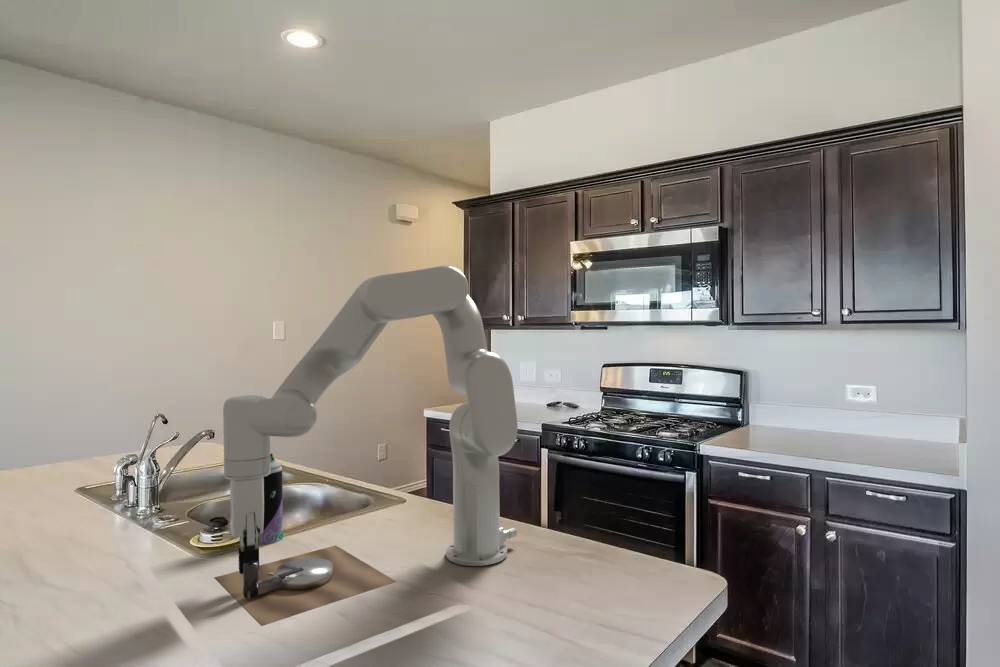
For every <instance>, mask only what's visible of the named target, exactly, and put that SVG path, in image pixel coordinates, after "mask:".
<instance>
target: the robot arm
mask: <svg viewBox="0 0 1000 667" xmlns="http://www.w3.org/2000/svg"><path fill="white" fill-rule="evenodd" d="M469 289H470V288H469V283H468V279H467V277H466V276H465V274H464V273H463V272H462V271H461V270H460V269H458V268H456V267H454V266H451V265H439V266H434V267H428V268H421V269H416V270H409V271H404V272H395V273H387V274H385V273H384V274H380V275H377V276H372V277H370V278H367V279H366V280H364V281H362V282H361V283H360V285H359V286H358V287H357V288H356V289H355V290H354V292H353V293H352V295H351V296H350V297H349V298H348V300H347V301H346V302H345V304H344V305H343V306H342V308H341V309H340V311H338V313H337V314H336V316H335V317H334V319H332V321H331V322H330V323H329V325H328V327H326V329H325V330H324V331H323V332H322V333H321V335H320V337H318V339H317V340H316V341H315V342H314V343H313V344H312V345H311V347H310V349H309V350H308V352H306V353H305V355H304V356H303V357H302V358H301V359H300V361H299V362H298V363H297V364H296V365H295V367H294V368H293V369H292V370H291V371H290V373H289V374H288V376H287V377H286V378H285V379H284V381H283V382H282V383H281V385H280V386H279V387H278V389H277V390H276V392H275V393H274V394H273V395H272V397H271V398H267V397H266V396H263V395H251V394H250V395H249V394H248V395H239V396H231V397H229V398H227V399H226V400H225V401H224V403H223V405H222V406H223V409H222V410H223V411H222V412H223V414H222V415H223V416H222V419H223V420H222V421H223V424H222V426H223V473H224V474H223V476H224V479H225V480H228V481H230V482H229V483H230V484H229V526H230V534H231V537H232V538H233V539H234V540H237V538H239V548H238V571H239V572H240V574H243V564H244V563H245V562H247V561H253V560H255V561H258V564H259V565H260V547H259V543H258V533H259V535H261V534H262V533H263V526H264V477H265V476H268V475H269V474H270V473H271V466H270V454H271V437H281V438H283V437H284V438H297V437H302V436H304V435H306V434H308V433H309V432H310V431H311V430H313V428H314V426H315V425H316V423H317V420H318V412H317V409H316V407H315V406H316V404H317V403H318V401H319V400H320V399H321V398H322V396H323V395H324V393H325V392H326V391H327V389H328V388H329V387H330V386H331V385H332V384H333V383H334V382H335V381H336V380H337V379H338V378H340V377H341V376H343V375H344V374H346V373H349V371H351V370H353V369H354V368H355V367H356V366H357V365H358V364H359V363H360V362H361V361H362V360H363V358H364V357H365V355H366V354H367V352H368V351H369V350H370V348H372V345H373V344H374V342H375V341H376V339H377V338H378V337H379V336H380V334H381V333H382V332H383V330H384V329H385V327H387V325H388V324H389V322H392V321H399V320H402V321H403V320H406V319H414V318H418V317H419V318H420V317H424V316H429V315H432V316H433V317H434V318H435V320H436V321H437V323H438V325H439V327H440V331H441V335H442V340H443V346H444V353H445V361H446V372H447V377H448V378H447V380H448V383H449V385H450V387H451V388H452V390H453V391H454V392H456V393H457V394H459V395H461V396H464V397H467V401H466V402H463V403H461V404H460V405H459V406H457V407H456V409H454V411H453V413H452V414H451V417H450V419H449V425H448V426H449V427H448V430H449V432H448V433H449V434H448V435H449V441H450V448H451V455H452V474H453V475H452V476H453V477H452V478H453V479H452V491H453V492H452V496H453V498H452V499H453V500H452V502H453V503H452V505H453V506H452V507H453V508H452V510H453V516H452V517H453V519H452V520H453V522H452V523H453V543H451V544H450V545H448V547H447V548H446V550H445V555H446V558H447V559H448V560H449V561H450V562H452V563H453V564H456V565H460V566H466V567H484V566H489V565H494V564H497V563H499V562H502V561H503V560H505V559H506V558H507V556H508V548H507V546H506V545H505V543H506V541H507V540H509V539H513V538H515V537H517V535H518V532H517V529H516V528H515V527H511V528H508V529H506V530H504V528H503V527H500V525H501V524H500V522H501V521H500V519H501V518H500V509H501V508H500V463H499V457H500V456H504V455H505V454H508V452H509V451H510V450H511V449H512V448H513V446H514V445H515V443H516V440H517V437H518V430H519V428H518V416H517V407H516V399H515V390H514V383H513V377H512V374H511V370H510V368H509V366H508V364H507V362H506V361H505V360H504V359H503V358H502V356H500V355H499V354H497V353H495V352H492V351H488V345H487V339H486V334H485V330H484V329H485V328H484V323H483V318H482V316H481V313H480V310H479V308H478V306H477V305H476V303H475V301H474V300H473V299H472V298H471V297H470V295H469Z"/></svg>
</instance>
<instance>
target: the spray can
mask: <svg viewBox="0 0 1000 667" xmlns="http://www.w3.org/2000/svg"><path fill="white" fill-rule="evenodd" d="M282 465H283V464H282V463H281V462H279V461H276V459H275V457H274V455H273V453H270V466H271V473H270V474H269V475H268V476H265V477H264V526H263V533H262V534H261V535H259V533H258V545H271V544H275V543H276V544H277V543H278V542H281V541H283V539H284V516H283V515H284V511H283V510H284V509H283V504H284V502H283V501H284V500H283V467H282Z"/></svg>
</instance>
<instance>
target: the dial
mask: <svg viewBox="0 0 1000 667" xmlns="http://www.w3.org/2000/svg"><path fill="white" fill-rule="evenodd" d="M259 566H260V563H259V564H258V561H255V560H253V561H247V562H245V563H244V564H243V584H244V588H243V596H244V597H245V598H248V599H249V598H253V597H256V596H258V595H260V594H263V593H266V592H268V591H271V590H274V589H277V588H283V589H289V590H301V589H308V588H313V587H316V586H319V585H322V584H324V583H326V582H328V581H329V580H330V579H331V578H332V576H333V564H332V563H331V562H330V561H329V560H326V559H321V558H304V559H298V560H293V561H290V562H287V563H285V564H283V565H281V566H279V567H278V568H277V569H276V570H275V577H274V578H271V579H268V580H265V581H262V582H259Z"/></svg>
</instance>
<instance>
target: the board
mask: <svg viewBox="0 0 1000 667" xmlns="http://www.w3.org/2000/svg"><path fill="white" fill-rule="evenodd" d="M304 558H321V559H326V560H329V561H330V562H331V563H332V564H333V576H332V578H331V579H330V580H329V581H328V582H326V583H324V584H322V585H319V586H316V587H313V588H308V589H301V590H289V589H283V588H277V589H274V590H271V591H268V592H266V593H263V594H260V595H258V596H256V597H253V598H249V599H248V598H245V597H244V596H243V588H244V584H243V574H240V572H239V570H237V571H234V572H230V573H226V574H222V575H218V576H214V579H215V580H216V581H217V582H218V583H219V584H220V585H221V586H222V587H223V588H224V589H225V591H227V592H228V593H229V595H231V597H233V599H234V600H236V601H237V603H239V605H240V606H241V607H243V609H244V610H246V612H247V613H248V614H249V615H250V616H251V617H252V618H253V619H254V620H255V621H256V622H257V623H258V624H259V625H260V627H261V626H262V627H263V626H267V625H269V624H272V623H275V622H278V621H281V620H284V619H287V618H290V617H293V616H297V615H300V614H302V613H305V612H308V611H311V610H314V609H317V608H320V607H323V606H326V605H330V604H333V603H335V602H339V601H342V600H344V599H348V598H350V597H351V598H352V597H354V596H357V595H360V594H363V593H366V592H369V591H372V590H375V589H378V588H381V587H385V586H388V585H391V584H394V583H396V582H397V581H396V580H395V579H393V578H392V577H390V576H388V575H387V574H385V573H383V572H381V571H380V570H378V569H377V568H374V567H373V566H372V565H370V564H368V563H366V562H365V561H363V560H361V559H360V558H358V557H356V556H354V555H352V554H351V553H349V552H348V551H346V550H344V549H343V548H342V547H340V546H337V545H332V546H329V547H325V548H321V549H318V550H314V551H309V552H305V553H302V554H297V555H293V556H290V557H286V558H282V559H279V560H276V561H271V562H267V563H264V564H261V565H260V564H259V582H262V581H265V580H268V579H271V578H274V577H275V570H276V569H277V568H278V567H279V566H281V565H283V564H285V563H287V562H290V561H293V560H298V559H304Z"/></svg>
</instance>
